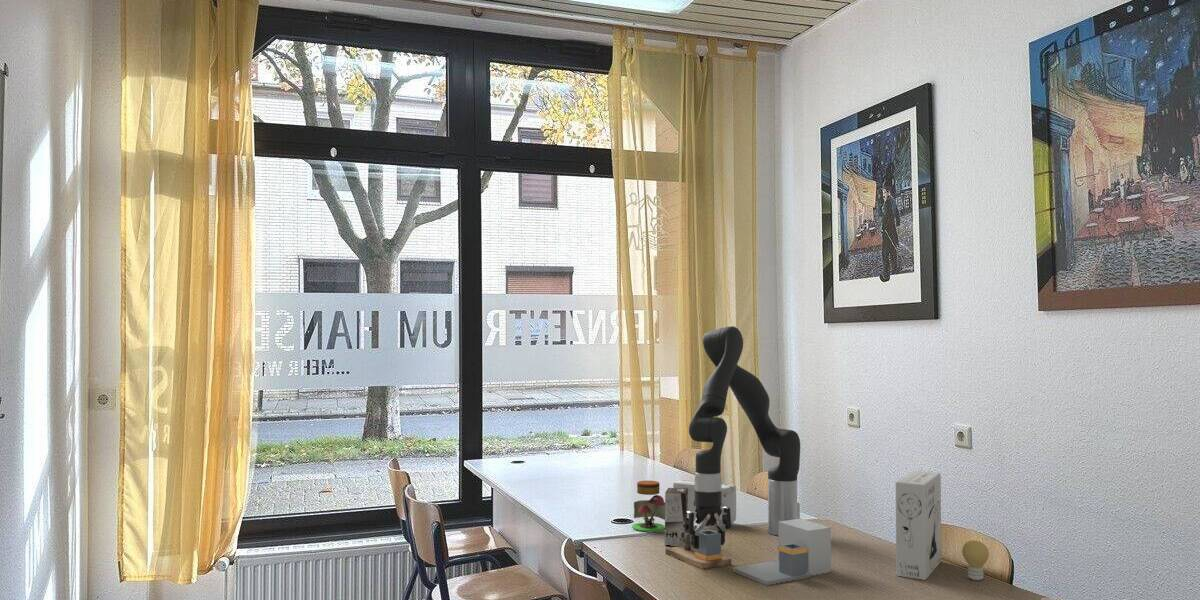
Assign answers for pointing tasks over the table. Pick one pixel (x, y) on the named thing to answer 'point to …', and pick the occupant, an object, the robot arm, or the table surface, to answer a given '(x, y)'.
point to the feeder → (801, 534)
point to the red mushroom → (649, 507)
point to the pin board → (688, 555)
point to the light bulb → (975, 558)
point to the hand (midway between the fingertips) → (708, 546)
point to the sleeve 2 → (792, 559)
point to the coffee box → (675, 515)
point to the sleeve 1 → (709, 545)
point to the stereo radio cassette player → (727, 495)
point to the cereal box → (918, 524)
